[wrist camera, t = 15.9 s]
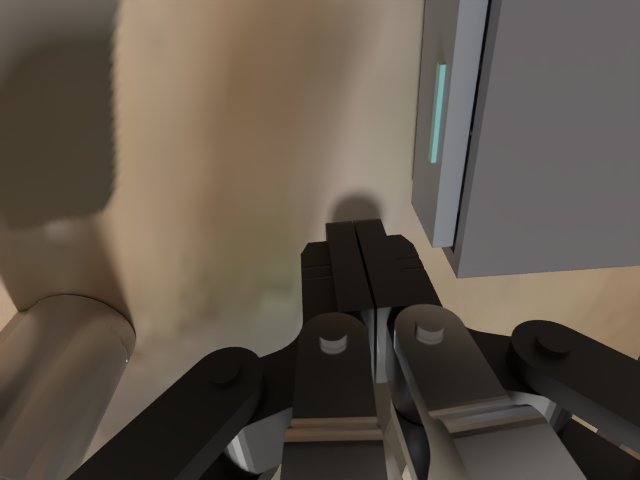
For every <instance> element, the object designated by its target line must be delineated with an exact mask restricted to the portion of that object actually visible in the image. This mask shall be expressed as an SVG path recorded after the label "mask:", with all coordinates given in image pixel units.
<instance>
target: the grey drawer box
mask: <svg viewBox="0 0 640 480" xmlns="http://www.w3.org/2000/svg"><path fill="white" fill-rule="evenodd" d="M491 4H492V0H426V3H425V17H424V32H423V46H422V60H421V74H420V88H419V102H418V116H417V131H416V145H415V159H414V173H413V187H412V201H411V203H412V206H413V208H414V210H415V212H416V214H417V216H418V218H419V220H420V223H421V225H422V227H423V229H424V231H425V233H426V235H427V237H428V240H429V242H430V244H431V246H432V248H435V247H449V246H453V239H454V232H455V225H456V218H457V212H458V211H461V204H462V198H463V191H464V184H465V178H466V171H467V164H468V158H469V151H470V144H471V138H472V136H471V135H470V134H469V129H470V122H471V115H472V108H473V101H474V94H475V88H476V81H477V74H478V67H479V60H480V55H481V54H482V53H483V52H484V51H485V44H486V37H487V31H488V24H489V17H490V11H491Z"/></svg>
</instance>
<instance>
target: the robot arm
mask: <svg viewBox="0 0 640 480" xmlns="http://www.w3.org/2000/svg"><path fill="white" fill-rule="evenodd" d="M325 225H326V241H324V242H312V243H308V244H307V246H306V247H305V249H304V250H303V252H302V253H301V274H302V304H303V326H302V328H301V330H300V333H299V335H298V336H297V338H296V339H295V340H294V341H293V342H292V343H290V344H289V345H288V346H286V347H285V348H283V349H281V350H279V351H277V352H274V353H271V354H269V355H266V356H263V357H261V358H259V357H258V356H257V355H256V354H255V353H254V352H252V351H251V350H248V349H246V348H242V347H227V348H222V349H219V350H216V351H214V352H212V353H210V354H208V355H207V356H205V357H204V358H203V359H201V360H200V361H199V362H198V363H197V364H195V365H194V366H193V367H192V368H191V369H190V370H189V371H188V372H186V373H185V374H184V375H183V376H182V377H181V378H180V379H179V380H177V381H176V382H175V383H174V384H173V385H172V386H171V387H170V388H168V389H167V390H166V391H165V392H164V393H163V394H162V395H160V396H159V397H158V398H157V399H156V400H155V401H154V402H153V403H151V404H150V405H149V406H148V407H147V408H146V409H145V410H144V411H142V412H141V413H140V414H139V415H138V416H137V417H136V418H135V419H133V420H132V421H131V422H130V423H129V424H128V425H127V426H125V427H124V428H123V429H122V430H121V431H120V432H119V433H118V434H116V435H115V436H114V437H113V438H112V439H111V440H110V441H109V442H107V443H106V444H105V445H104V446H103V447H102V448H101V449H100V450H98V451H97V452H96V453H95V454H94V455H93V456H92V457H90V458H89V459H88V460H87V461H86V462H85V463H84V464H83V465H81V464H82V462H83V459H84V457H85V455H86V453H87V451H88V449H89V446H90V444H91V442H92V440H93V438H94V435H95V433H96V431H97V429H98V427H99V425H100V422H101V420H102V418H103V416H104V414H105V411H106V409H107V407H108V405H109V403H110V401H111V398H112V396H113V394H114V392H115V390H116V387H117V385H118V383H119V381H120V379H121V377H122V374H123V372H124V370H125V368H126V366H127V364H128V362H129V360H130V357H131V355H132V353H133V350H134V347H135V342H136V337H135V334H134V331H133V329H132V327H131V326H130V324H129V322H128V321H127V320H126V319H125V318H124V317H123V316H122V315H121V314H120V313H118V312H117V311H116V310H114V309H113V308H111V307H109V306H107V305H105V304H104V303H101V302H99V301H96V300H93V299H91V298H86V297H82V296H75V295H58V296H52V297H48V298H45V299H43V300H41V301H39V302H37V303H36V304H35V305H34V306H33V307H32V308H31V309H29V310H28V311H21V312H17V313H16V314H15V315H14V316H13V318H12V319H11V320H10V321H9V322H8V323H7V325H6V326H5V327H4V328H3V329H2V330H1V332H0V480H271V479H272V477H273V476H274V474H275V473H276V471H277V469H278V467H279V465H280V464H281V474H280V480H388V476H387V468H386V459H385V451H384V443H383V436H382V430H381V426H380V424H378V419H377V411H376V402H375V394H374V385H373V384H374V374H375V379H376V383H384V382H388V385H389V389H390V393H391V415H392V419H393V422H394V425H395V428H396V431H397V434H398V438H399V441H400V444H401V447H402V450H403V453H404V457H405V460H406V463H407V466H408V469H409V472H410V476H411V479H412V480H640V460H639V459H637V458H635V457H634V456H632V455H630V454H629V453H627V452H626V451H624V450H622V449H621V448H619V447H617V446H616V445H614V444H613V443H611V442H609V441H608V440H606V439H604V438H603V437H601V436H600V435H598V434H596V433H595V432H593V431H591V430H590V429H588V428H587V427H585V426H583V425H582V424H580V423H578V422H577V421H575V420H574V419H572V418H571V417H572V415H573V414H574V415H576V416H577V417H579V418H580V419H582V420H584V421H585V422H587V423H589V424H590V425H592V426H594V427H595V428H597V429H599V430H600V431H602V432H604V433H605V434H607V435H608V436H610V437H612V438H613V439H615V440H617V441H618V442H620V443H622V444H623V445H625V446H627V447H628V448H630V449H631V450H633V451H635V452H636V453H638V454H640V362H639V361H637V360H635V359H633V358H631V357H629V356H627V355H625V354H623V353H621V352H618V351H616V350H614V349H612V348H610V347H608V346H606V345H604V344H602V343H600V342H598V341H596V340H593V339H591V338H589V337H587V336H585V335H583V334H581V333H579V332H577V331H575V330H573V329H571V328H568V327H566V326H564V325H561V324H558V323H555V322H551V321H545V320H531V321H526V322H523V323H521V324H519V325H518V326H517V327H515V329H514V330H513V333H512V336H504V335H498V334H491V333H485V332H480V331H475V330H472V329H469V328H467V327H465V325H464V324H463V322H462V321H461V319H460V318H459V317H458V316H457V315H456V314H454V313H453V312H451V311H450V310H448V309H446V308H443V306H442V304H441V302H440V300H439V298H438V296H437V294H436V292H435V289H434V287H433V285H432V283H431V281H430V279H429V277H428V274H427V272H426V270H425V269H424V266H423V264H422V262H421V260H420V259H419V255H418V253H417V251H416V249H415V247H414V245H413V244H412V243H411V242H410V241H408V240H407V239H406V238H405V237H403V236H402V235H390V236H387V235H386V232H385V230H384V227H383V224H382V222H381V219H368V220H357V221H353V224H352V221H347V222H335V223H326V224H325Z"/></svg>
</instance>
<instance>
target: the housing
mask: <svg viewBox="0 0 640 480" xmlns="http://www.w3.org/2000/svg"><path fill="white" fill-rule="evenodd" d="M442 249H443V251H444V253H445V255H446V257H447V259H448V261H449V263H450V265H451V267H452V269H453V271H454V273H455V275H456V277H457V278H470V277H484V276H498V275H513V274H527V273H541V272H555V271H569V270H583V269H597V268H612V267H626V266H640V0H492V4H491V11H490V17H489V24H488V31H487V37H486V44H485V51H484V58H483V64H482V71H481V78H480V84H479V91H478V98H477V104H476V111H475V118H474V124H473V131H472V138H471V144H470V151H469V158H468V164H467V171H466V178H465V184H464V191H463V198H462V204H461V211H458V212H457V218H456V225H455V232H454V239H453V246H449V247H442Z"/></svg>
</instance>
